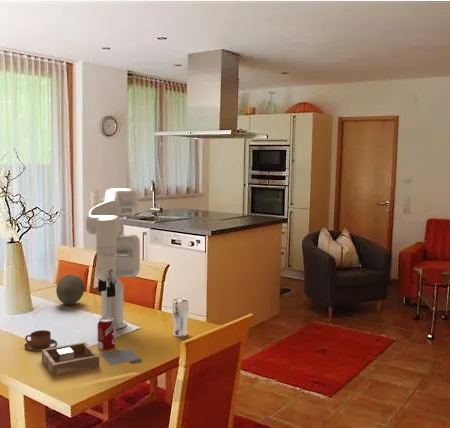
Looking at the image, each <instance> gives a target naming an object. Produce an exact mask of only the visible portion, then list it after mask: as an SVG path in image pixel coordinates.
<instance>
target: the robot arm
mask: <svg viewBox="0 0 450 428" xmlns="http://www.w3.org/2000/svg"><path fill="white" fill-rule="evenodd" d="M138 211H139V201H138V195H137V192H136V191H135V190H134V189H132V188H109V189H107V190H106V191H105V192H104V193H103V196H102V198H101V200H100V202H99V204H97V205H96V206H94V207H92V208H90V209H89V211H88V213H87V217H86V220H85V229H86V231H87V233H88V234H90V235H95V236H96V240H95V241H96V243H95V244H96V245H95V246H96V253H95V254H96V262H95V263H96V264H95V276H96V278H97V291H98V292H101V318H104V317H111V318H113V319H114V320H113V321H114V322H115V330H120V329H123V328H125V327H127V324H128V323H127V320H126V319H124V285H123V283H122V282H121V280H120V278H135V277H137V276H139V273H140V269H141V243H140V238H139V237H138V235H136V234H132V233H131V234H130V233H129V234H127V233H125V225H124V221H123V219H122V218H121V217H120V216H135V215H136V214H137V213H138ZM124 233H125V234H124Z"/></svg>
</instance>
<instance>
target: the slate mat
mask: <svg viewBox="0 0 450 428" xmlns="http://www.w3.org/2000/svg"><path fill="white" fill-rule="evenodd" d="M99 356H100V357H102V358H103V360H104V361H105V362H106V363H108V365H110V366H114V365H117V364H122V363H126V362H129V363H130V364H135V363H139V362H140V363H141V362H142V357H140V356H139V355H138V354H137V353H135V352H134V351H133V350H132V349H131V348H129V347H128V348H122V349H118V350H112V351H108V352H102V353H99Z"/></svg>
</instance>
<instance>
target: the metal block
mask: <svg viewBox="0 0 450 428" xmlns="http://www.w3.org/2000/svg"><path fill="white" fill-rule="evenodd" d="M70 360H74V351H73V350H72V349H71V348H70V347H69V348H63V349H57V350H56V361H57V362H58V363H59V362H65V361H70Z"/></svg>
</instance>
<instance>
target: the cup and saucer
mask: <svg viewBox="0 0 450 428" xmlns="http://www.w3.org/2000/svg"><path fill="white" fill-rule="evenodd" d="M51 334H52V333H51V331H50V330H43V329H42V330H35V331H32V332H31V333H30V334H27V335H25V338H24V340H25V342H26V343H25V344H24V345H23V346H24V349H26V350H28V351H29V352H42V350H43V349H49V348H55V347H57V346H58V342H57V340H55V339H52V337H51ZM28 337H29V338H30V340H28ZM50 345H53V346H51V347H49V346H50ZM32 348H33V349H32Z"/></svg>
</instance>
